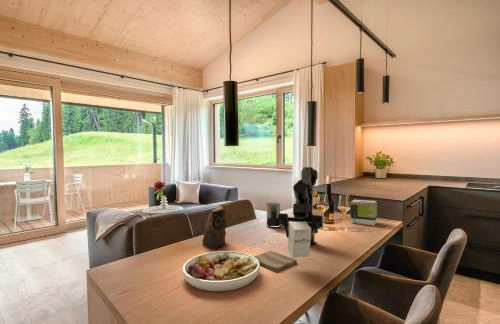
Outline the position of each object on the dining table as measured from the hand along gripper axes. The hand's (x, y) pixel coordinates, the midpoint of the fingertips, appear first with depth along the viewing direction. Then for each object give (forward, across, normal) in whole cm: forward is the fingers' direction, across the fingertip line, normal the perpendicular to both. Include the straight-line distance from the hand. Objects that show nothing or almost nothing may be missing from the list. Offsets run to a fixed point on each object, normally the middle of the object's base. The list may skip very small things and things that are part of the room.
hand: (298, 238), depth 117 cm
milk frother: (-34, -21, +54) cm, 68 cm away
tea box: (-50, +31, +71) cm, 92 cm away
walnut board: (+6, -12, +13) cm, 19 cm away
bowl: (+19, -28, 0) cm, 34 cm away
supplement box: (+4, 0, +6) cm, 7 cm away
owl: (-4, -47, +23) cm, 53 cm away
